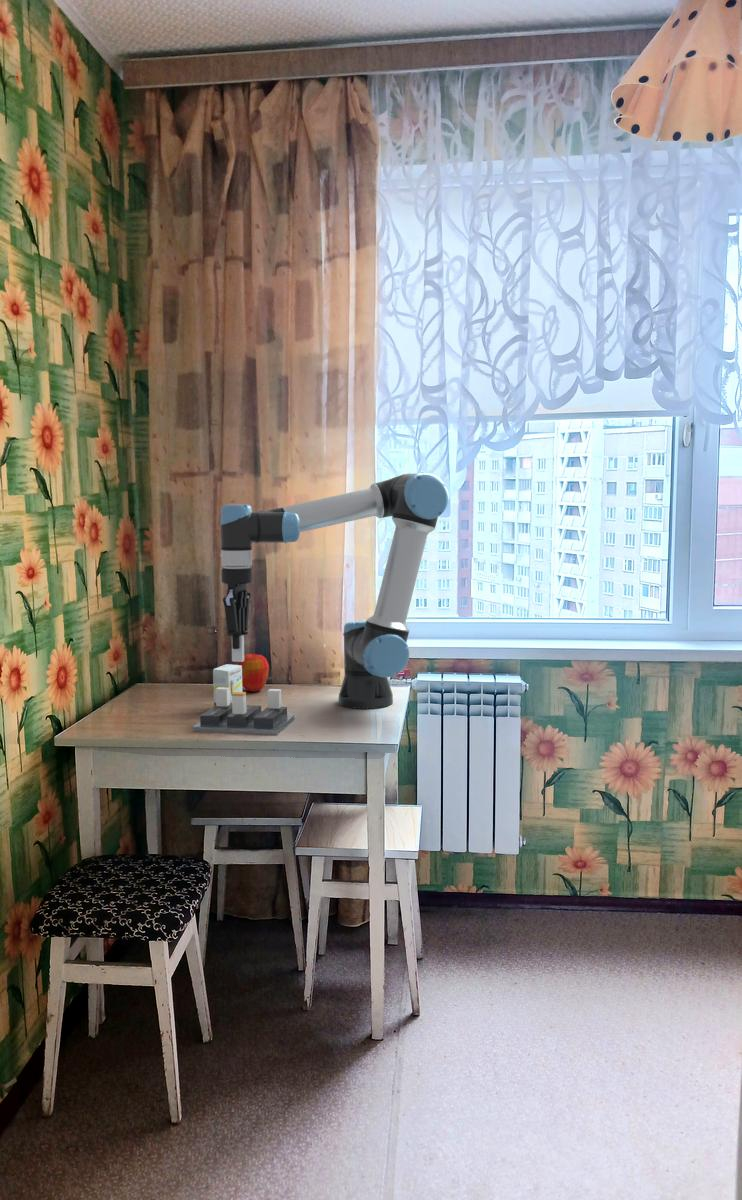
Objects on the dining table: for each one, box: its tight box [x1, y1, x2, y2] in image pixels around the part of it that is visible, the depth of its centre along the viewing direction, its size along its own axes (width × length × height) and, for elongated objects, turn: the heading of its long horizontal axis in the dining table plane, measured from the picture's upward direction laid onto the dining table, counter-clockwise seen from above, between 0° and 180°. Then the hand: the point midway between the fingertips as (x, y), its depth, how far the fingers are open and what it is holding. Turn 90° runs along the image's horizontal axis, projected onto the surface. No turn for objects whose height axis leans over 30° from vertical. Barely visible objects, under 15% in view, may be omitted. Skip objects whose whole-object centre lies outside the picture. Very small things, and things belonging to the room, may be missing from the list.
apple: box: [237, 651, 270, 692], centre depth 270 cm, size 9×9×12 cm
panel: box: [191, 704, 296, 736], centre depth 232 cm, size 22×15×4 cm
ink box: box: [212, 663, 243, 707], centre depth 248 cm, size 9×5×12 cm, turn 161°
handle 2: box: [267, 688, 283, 708], centre depth 234 cm, size 3×2×4 cm, turn 78°
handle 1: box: [216, 687, 230, 706], centre depth 237 cm, size 3×2×4 cm, turn 78°
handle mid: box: [232, 691, 247, 714], centre depth 228 cm, size 3×2×5 cm, turn 78°
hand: (238, 661), depth 229 cm, fingers closed
